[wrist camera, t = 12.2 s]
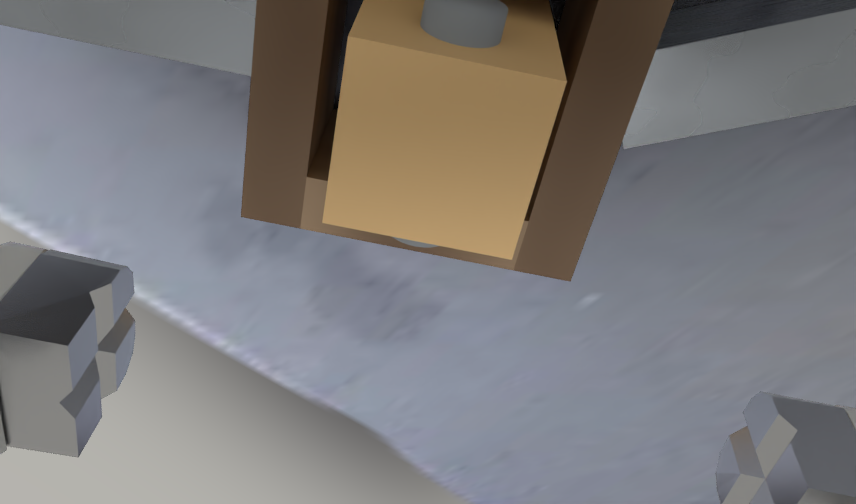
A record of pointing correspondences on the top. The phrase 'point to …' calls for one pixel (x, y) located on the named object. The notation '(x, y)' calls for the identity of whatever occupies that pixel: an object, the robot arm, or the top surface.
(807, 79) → the steel shafts
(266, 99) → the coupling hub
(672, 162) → the top surface
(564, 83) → the block
